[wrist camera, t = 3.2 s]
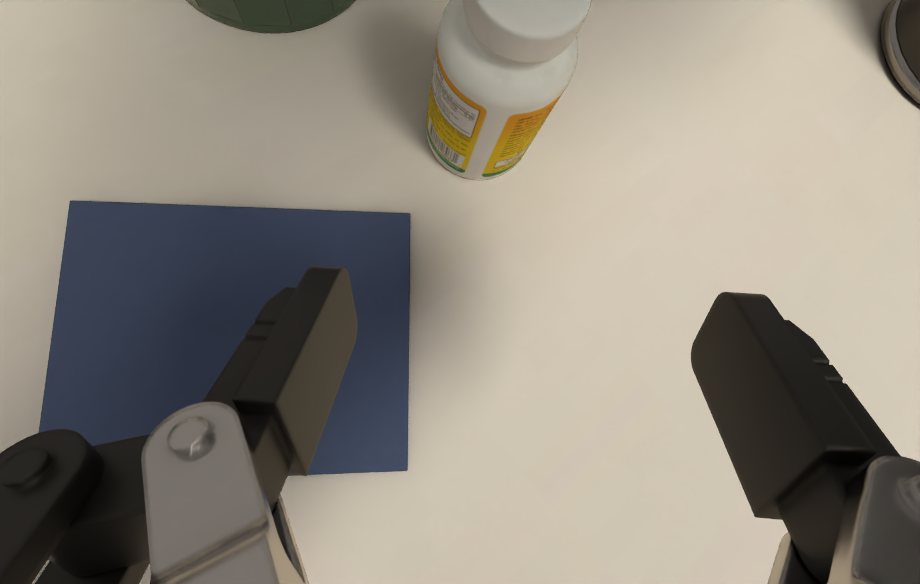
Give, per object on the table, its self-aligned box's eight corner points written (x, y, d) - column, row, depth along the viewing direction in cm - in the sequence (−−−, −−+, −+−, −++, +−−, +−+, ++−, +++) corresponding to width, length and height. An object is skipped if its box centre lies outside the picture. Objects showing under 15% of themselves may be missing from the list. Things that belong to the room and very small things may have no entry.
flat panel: (75, 203, 20) (69, 200, 19) (410, 215, 22) (410, 213, 21) (38, 483, 18) (31, 486, 18) (407, 468, 20) (407, 471, 20)
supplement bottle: (417, 172, 22) (431, 33, 13) (434, 78, 23) (458, -116, 14) (520, 192, 23) (605, 74, 13) (532, 100, 24) (620, -72, 14)
